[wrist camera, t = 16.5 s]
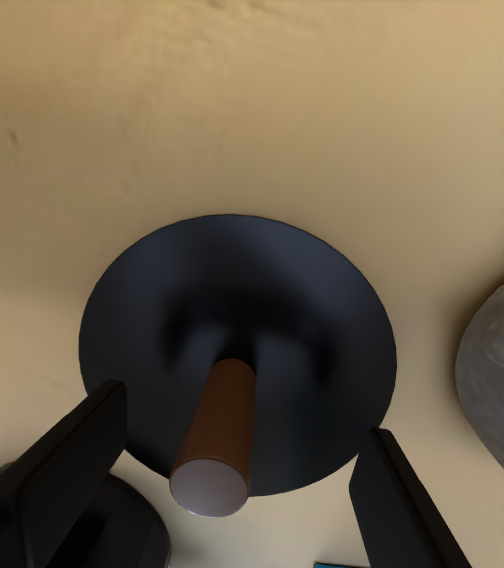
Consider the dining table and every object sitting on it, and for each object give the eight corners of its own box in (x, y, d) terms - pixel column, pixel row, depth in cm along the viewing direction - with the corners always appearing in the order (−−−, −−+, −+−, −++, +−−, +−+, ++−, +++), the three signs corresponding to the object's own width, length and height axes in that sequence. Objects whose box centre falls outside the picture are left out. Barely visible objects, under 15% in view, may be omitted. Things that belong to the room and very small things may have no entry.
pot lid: (87, 192, 11) (-125, 153, 5) (428, 241, 11) (636, 263, 5) (97, 454, 15) (-15, 607, 9) (344, 496, 15) (399, 682, 9)
